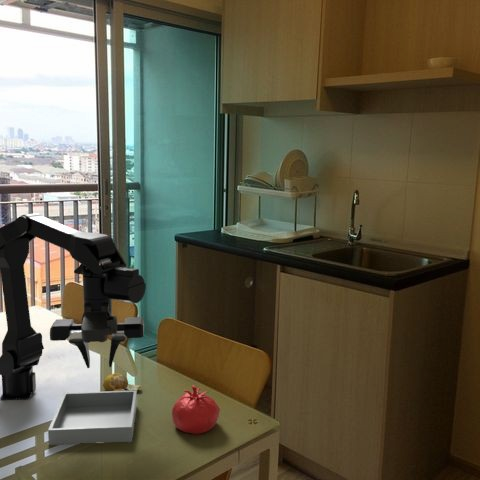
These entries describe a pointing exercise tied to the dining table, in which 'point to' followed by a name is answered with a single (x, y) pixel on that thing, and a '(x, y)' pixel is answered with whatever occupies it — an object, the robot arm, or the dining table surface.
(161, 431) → the dining table surface
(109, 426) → the serving bin
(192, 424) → the pomegranate
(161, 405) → the dining table surface
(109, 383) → the fruit
